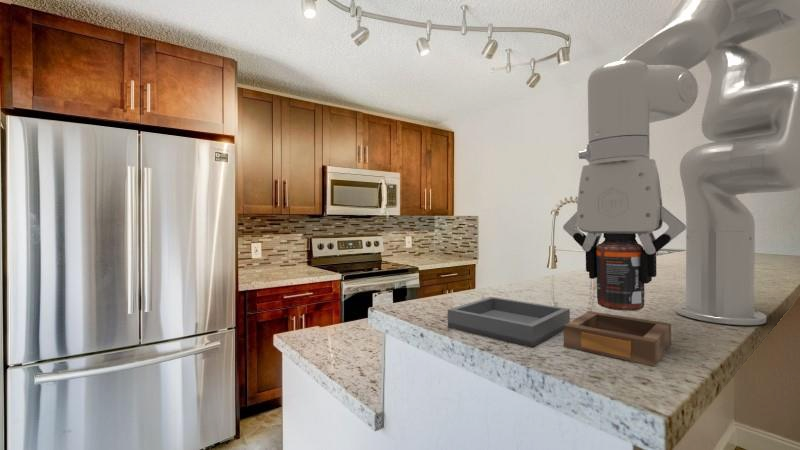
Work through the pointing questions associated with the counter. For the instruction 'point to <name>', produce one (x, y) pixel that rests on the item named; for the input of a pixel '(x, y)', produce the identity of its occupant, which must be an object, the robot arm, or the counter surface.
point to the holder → (619, 337)
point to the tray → (509, 320)
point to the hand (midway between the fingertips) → (619, 278)
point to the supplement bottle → (619, 273)
